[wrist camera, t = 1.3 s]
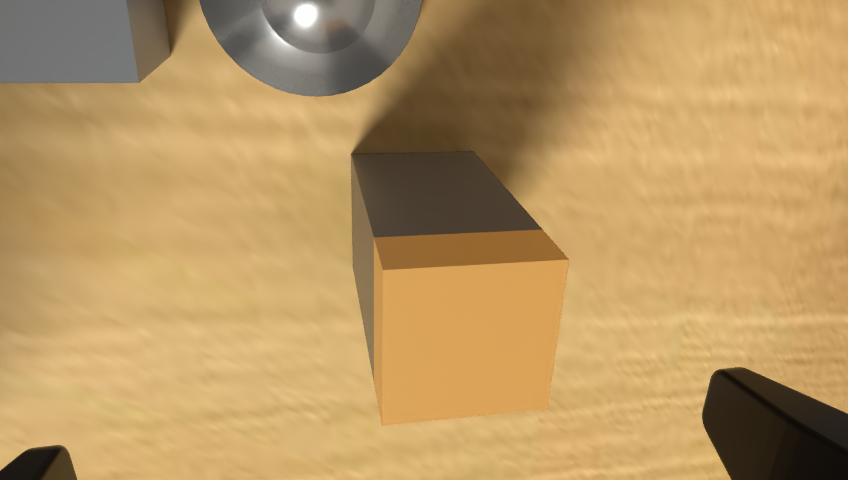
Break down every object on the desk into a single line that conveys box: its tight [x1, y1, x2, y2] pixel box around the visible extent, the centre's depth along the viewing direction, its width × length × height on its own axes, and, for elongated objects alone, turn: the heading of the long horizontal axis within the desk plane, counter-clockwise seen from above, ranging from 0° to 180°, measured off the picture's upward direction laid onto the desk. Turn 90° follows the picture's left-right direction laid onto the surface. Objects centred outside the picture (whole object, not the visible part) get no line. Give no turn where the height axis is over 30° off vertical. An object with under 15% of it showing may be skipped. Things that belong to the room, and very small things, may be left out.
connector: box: [351, 151, 569, 426], centre depth 17 cm, size 4×4×8 cm
